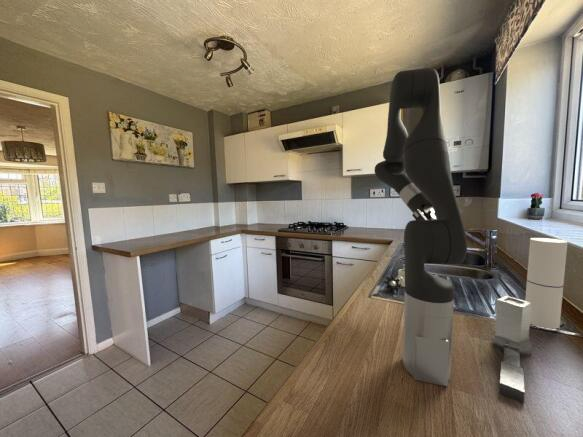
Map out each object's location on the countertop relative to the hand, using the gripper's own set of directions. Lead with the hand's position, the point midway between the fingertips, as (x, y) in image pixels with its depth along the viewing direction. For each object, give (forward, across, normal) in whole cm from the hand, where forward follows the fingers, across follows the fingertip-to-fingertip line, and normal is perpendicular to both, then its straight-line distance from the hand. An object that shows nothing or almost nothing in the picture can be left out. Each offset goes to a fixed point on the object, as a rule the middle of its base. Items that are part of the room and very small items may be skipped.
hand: (450, 236), depth 72 cm
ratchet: (+32, -9, +5) cm, 33 cm away
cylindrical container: (+29, +19, +7) cm, 36 cm away
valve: (+2, +7, +35) cm, 36 cm away
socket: (+28, -1, +5) cm, 28 cm away
